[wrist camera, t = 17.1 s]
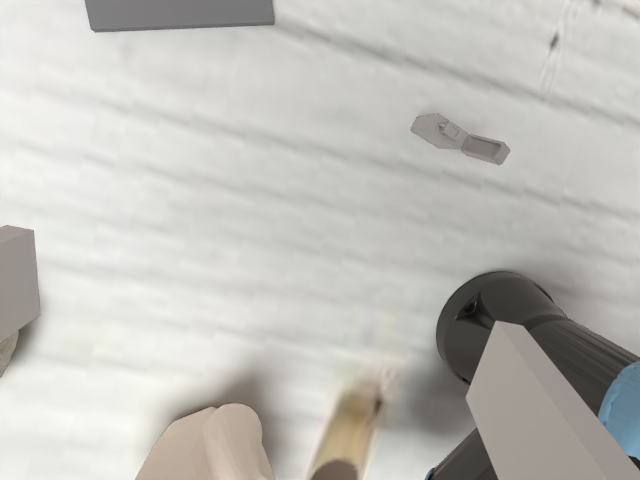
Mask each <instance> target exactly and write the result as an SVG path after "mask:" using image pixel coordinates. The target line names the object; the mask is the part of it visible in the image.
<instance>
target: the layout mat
mask: <svg viewBox="0 0 640 480" xmlns="http://www.w3.org/2000/svg"><path fill="white" fill-rule="evenodd" d="M85 4H86V9H87V13H88V18H89V23H90V27H91V30H93V31H94V32H114V31H138V30H162V29H186V28H210V27H234V26H258V25H273V22H274V21H273V11H272V1H271V0H85Z"/></svg>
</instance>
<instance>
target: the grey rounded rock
mask: <svg viewBox="0 0 640 480" xmlns="http://www.w3.org/2000/svg"><path fill="white" fill-rule="evenodd" d="M18 336H19V331H16V332H15V333H13V334H12V335H10V336H9V337H7V338H6V339H5V340H3V341H2V342H0V378H1V377H2V375H3V373H4V371H5V369H6V367H7V366H8V363H9V361H10V359H11V357H12V354H13V351H14V350H15V348H16V344H17V340H18Z"/></svg>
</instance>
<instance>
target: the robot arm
mask: <svg viewBox="0 0 640 480" xmlns="http://www.w3.org/2000/svg"><path fill="white" fill-rule="evenodd" d="M40 315H41V313H40V301H39V289H38V276H37V264H36V251H35V239H34V230H30V229H24V228H19V227H14V226H9V225H6V226H3V227H0V342H2V341H3V340H5V339H6V338H7V337H9V336H10V335H12V334H13V333H15V332H16V331H18V330H19V329H21V328H22V327H24V326H25V325H27V324H28V323H30V322H31V321H33V320H34V319H36V318H37V317H38V316H40ZM436 339H437V347H438V351H439V353H440V356H441V358H442V360H443V361H444V363H445V364H446V365H447V366H448V368H449V369H450V370H451V371H452V372H453V373H454V374H455V376H457V377H458V378H459V379H460V380H461V381H463V382H464V383H466V384H468V385H470V388H469V390H468V393H467V395H466V401H467V403H468V406H469V408H470V411H471V413H472V416H473V418H474V421H475V423H476V426H477V428H476V429H475V430H474V431H473V432H472V433H471V434H470V435H468V436H467V437H466V438H465V439H464V440H463V441H462V442H461V443H460V444H459V445H458V446H457V447H456V448H455V449H454V450H453V451H452V452H451V453H450V454H449V455H448V456H447V457H446V458H445V459H444V460H443V461H442V462H441V463H440V464H439V465H438V466H437V467H435V468H432V469H431V470H430V471H429V472H428V474H427V475H426V478H425V480H640V357H638V356H636V355H634V354H633V353H631V352H629V351H627V350H625V349H623V348H622V347H620V346H618V345H616V344H614V343H613V342H611V341H609V340H607V339H605V338H603V337H602V336H600V335H598V334H596V333H594V332H593V331H591V330H589V329H587V328H585V327H583V326H582V325H580V324H578V323H576V322H574V321H572V320H571V319H569V318H568V317H567V316H566V315H565V314H564V313H563V311H562V310H561V309H560V308H558V307H557V306H556V305H555V304H554V302H553V300H552V299H551V297H550V296H549V295H548V293H547V292H546V291H545V290H544V289H543V288H541V287H540V286H539V285H537V284H536V283H534V282H532V281H530V280H528V279H526V278H524V277H522V276H520V275H518V274H515V273H510V272H493V273H488V274H485V275H482V276H479V277H477V278H475V279H473V280H471V281H469V282H468V283H466V284H465V285H464V286H462V287H461V288H460V289H459V290H458V291H457V292H456V293H455V294H454V295H453V296H452V297H451V298H450V300H449V301H448V303H447V304H446V306H445V307H444V309H443V311H442V313H441V316H440V319H439V322H438V326H437V335H436Z"/></svg>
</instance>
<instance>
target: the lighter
mask: <svg viewBox="0 0 640 480" xmlns="http://www.w3.org/2000/svg"><path fill="white" fill-rule="evenodd" d="M411 131H412V132H413V133H415V134H417V135H418V136H420V137H421V138H423V139H425V140H426V141H428V142H429V143H431V144H433V145H434V146H436V147H437V148H446V149H459V148H461V150H462V151H463V152H464V153H465V154H466V155H467V156H470V157H473V158H477V159H480V160H484V161H487V162H490V163H494V164H497V165H501V164H503V162H504V160H505V159H506V157H507V155H508V154H509V152H510V149H509V147H508V146H507V145H506V144H505V143H504V142H501V141H496V140H492V139H488V138H484V137H480V136H476V135H472V134H470V135H468V133H467V132H465V131H464V130H462V129H461V128H459V127H458V126H456V125H455V124H453V123H452V122H450V121H449V120H447V119H446V118H444V117H442V116H441V115H439V114H438V113H437V114H431V115H425V116H419V117H417V118H416V120H415V122H414V124H413V125H412V127H411Z"/></svg>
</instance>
